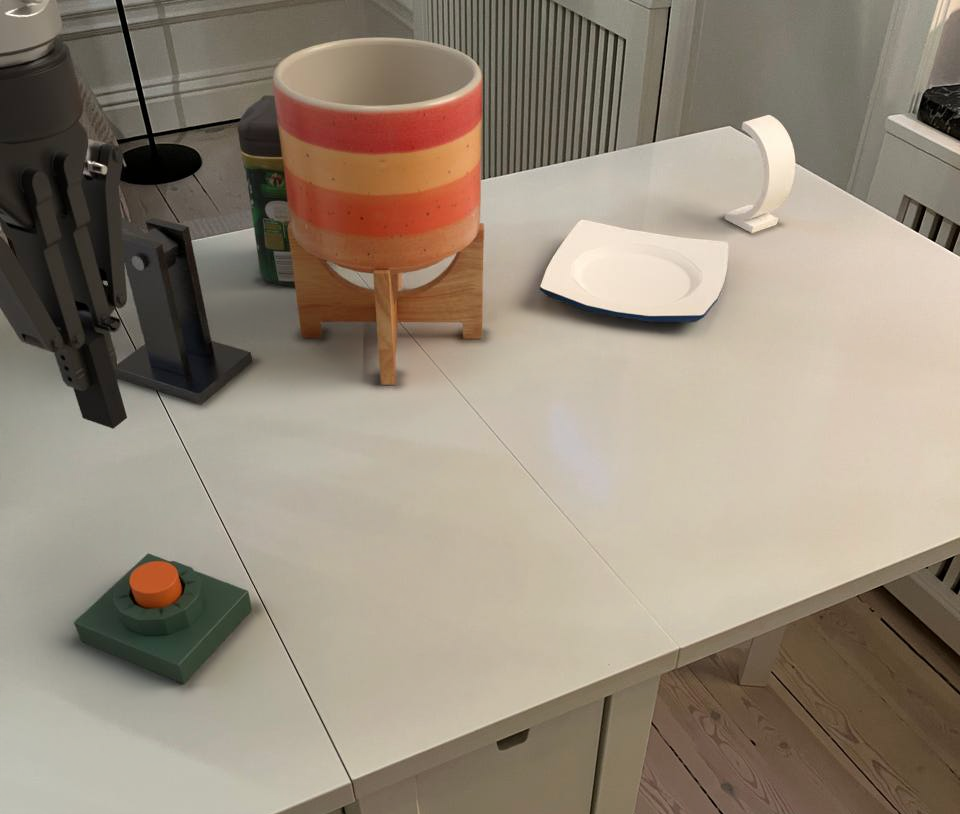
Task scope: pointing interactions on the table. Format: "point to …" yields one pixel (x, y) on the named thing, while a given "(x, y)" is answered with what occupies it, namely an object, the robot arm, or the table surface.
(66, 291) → the robot arm
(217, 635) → the control block
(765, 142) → the headphone stand
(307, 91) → the planter
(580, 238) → the plate
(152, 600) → the button
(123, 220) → the lever
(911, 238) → the table surface
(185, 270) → the bracket
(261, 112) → the coffee jar
